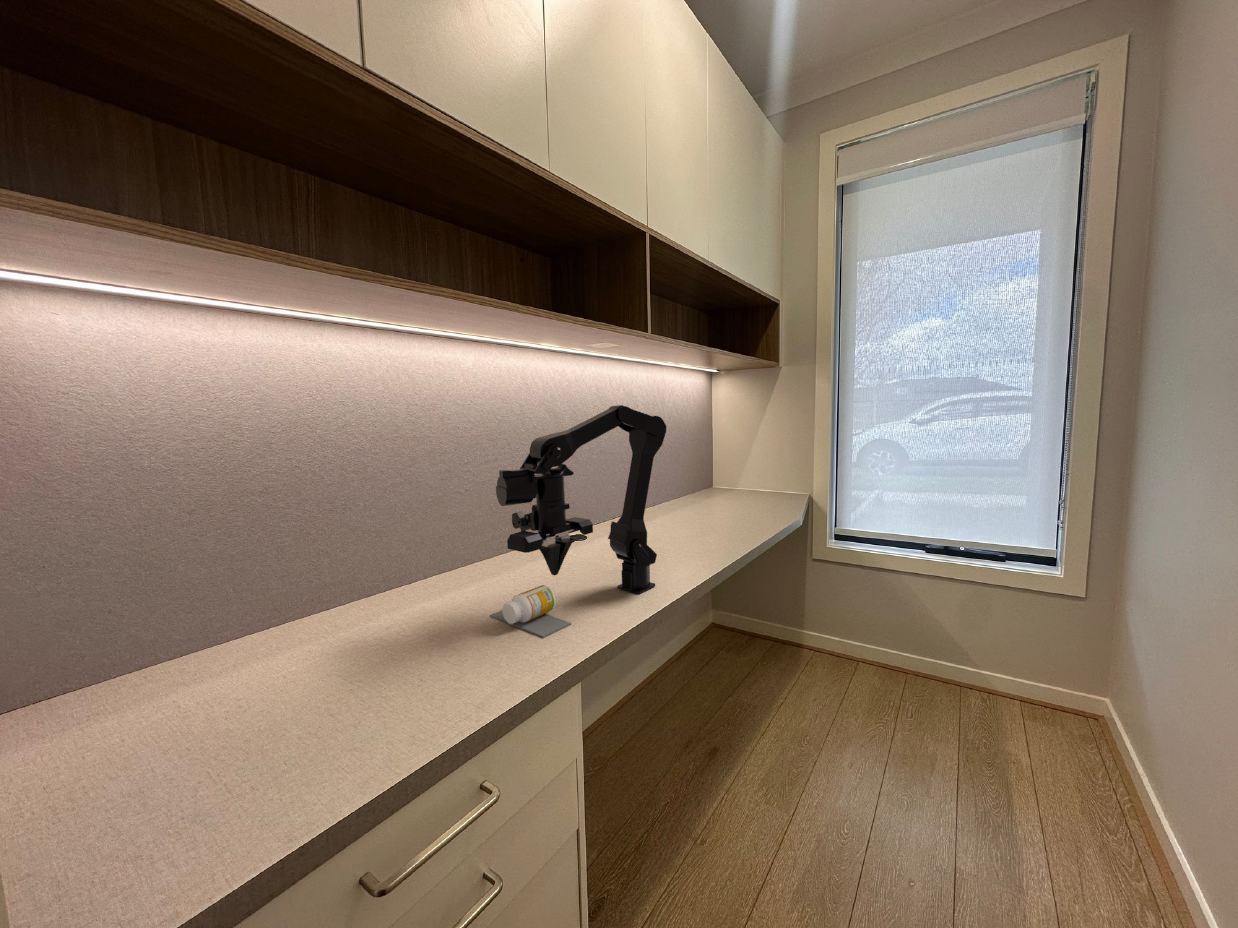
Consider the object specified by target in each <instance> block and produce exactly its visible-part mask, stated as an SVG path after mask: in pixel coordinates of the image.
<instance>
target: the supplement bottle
mask: <svg viewBox="0 0 1238 928" xmlns="http://www.w3.org/2000/svg"><path fill="white" fill-rule="evenodd" d="M555 607H556V596H555V593H554V591H553V589H552V588H551V587H550V586H549V585H546V584H542V585H539V586H537V587H536V586H535V587H533V588H531V589H529V590H526V591H524V592H520V593H518V594H516V595H514V596H513V597H512V599H511V600H510V601H508V602H506V603H504V604H503V606H502V609H501V610H502V612H503V616H504V618H505V620H506V621H507V622H508V623H510V624H513V623H516V622H518V621H519V622H522V623H524V622H527V621H530V620H532V619H534V618H536V617H538V616H541V615H543V614H548V613H549V612H551V611H553V610H554V609H555ZM510 624H509V625H510Z"/></svg>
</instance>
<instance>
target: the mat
mask: <svg viewBox="0 0 1238 928" xmlns="http://www.w3.org/2000/svg"><path fill="white" fill-rule="evenodd" d="M489 617H490V618H493V619H495V620H497V621H500V622H503V623H505V624H508V625H510V626H513V627H515V628H518V629H520V630H523V631H524V632H525V631H526V632H527V633H530V634H533V635H535V636H538V637H540V638H543V639H545V638H546V637H549V636H551V635H552V634H554V633H557V632H558V631H559V632H560V631H561V630H563V629H565V628H567V627H569V626H571V625H572V622H570V621H567V620H564V619H561V618H559V617H555V616H553V615H550V614H548V613H545V614H543V615H541V616H538V617H536V618H534V619H532V620H530V621H527V622H524V623H522V622H519V621H518V622H516V623H513V624H510V623H508V622H507V621H506V620H505V618H504V616H503V612H502V609H501V610H499V611H496V612H495V613H491V614H489Z"/></svg>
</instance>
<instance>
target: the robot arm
mask: <svg viewBox="0 0 1238 928" xmlns="http://www.w3.org/2000/svg"><path fill="white" fill-rule="evenodd" d="M617 427H618V428H619V429H620V430H623V431H624V432H626V433H628V441H629V442H628V443H629V446H630V449H631V451H632V452H631V453H632V454H631V462H630V467H629V473H628V479H627V484H626V491H625V495H624V496H625V497H624V503H623V508H622V513H621V516H620V517H619V519H618V520H617V522H616V521H611V522H610V531H609V535H608V537H607V540H609V547H610V548H611V550H612V551H613V553H615V556H616V558H617V560H622V563H621V583H620V584H618V585H617V587H616V588H617V589H621V590H624V591H627V592H630V593H635V594H641V593H644V592H646V591H648V590H650V589H652V588H653V587H655V586H656V583H654V582H651V578H650V577H651V576H650V574H651V572H650V570H651V569H650V568H651V567H650V566H651V565H653V564H655V563H656V560H657V555H658V553H656V551H654V550H653V548H651V547H650V546H649V545H648V530H647V527H646V524H645V519H644V518H645V513H646V505H647V500H648V493H649V487H650V481H651V476H652V470H653V463H654V458H655V456H656V454H657V453H658V452H659V450H660V448H661V447H662V446H663V443H664V441H665V437H666V434H667V424H666V423H665V421H664V419H663V418H662V417H661V416H659V415H650V414H647V413H645V412H641V411H639V410H635V409H633V408H631V407H629V406H627V405H623V404H618V405H612V406H610V407H608V408H607V409H606V410H604V411H602V412H600V413H598V414H596V415H593V416H592V417H590V418H588V419H586V420H585V421H583V422H581V423H579V424H577V425H575V426H572V427H571V428H569V429H566V430H563V431H558V432H553V433H549V434H546V435H542V436H540V437H536V438H535V439H534V440H532V442H531V443H530V447H529V453H528V454H527V456H526V457H525V459H524V461H523V463H522V465H521V466H520V467H519V469H511V470H509V469H500V470H498V474H499V476H498V477H497V481H496V486H495V495H496V499H497V500H498V503H499V505H500V506H501V507H506V506H513V505H523V504H528V503H529V504H530V503H532V502H533V500H534V499H535V500H536V502H535V504H531V505H532V506H531V512H530V513H529V512H528V513H525V512H524V511H522V510H520V511H517V512H513V513H512V514H511V524H512V528H513V529H515V530H517V529H520V531H518V532H514V533H510V534H509V536H508V537H507V539H506V540H507V542H506V543H507V549H508V550H510V551H511V550H512V551H516V552H519V553H520V552H521V553H525V554H526V553H532V552H535V551H538V550H539V551H540V553H541V554H542V556H543V558H544V560H545V563H546V566H547V569H549V571H550V574H551V575H552V576H558V575H559V572H560V570H561V568H562V565H563V563H564V560H565V558H566V556H567V554H568V552H569V550H570V547H571V546H572V544H573V543H575V541H576V540H575V539H574V538H570V537H571V536H570V534H571V533H575V532H577V531H578V532H580V534H582V535H584V536H586V535H589V534H592V533H594V525H593V522H592V521H591V519H589V518H584V517H583V518H582V517H576V516H574V517H570V518H566V517H567V516H566V510H568V509H570V503H566V499H565V498H566V495H565V477H570V476H573V475H574V471H573V470H571V469H570V468H569V467H568V466H567V464H565V462H566V461H568V460H569V459H570V458H571V457H572V456H573V455H574V454H575V453H576V452H577V450H578V449H579V448H581V447H582V446H584V445H585V444H587V443H588V444H589V442H591V441H593V440H596V439H597V438H599V437H600V436H603V435H604V434H606V433H608V432H611V431H612V430H613V429H615V428H617ZM529 530H530V531H529ZM535 531H537V532H535Z"/></svg>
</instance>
